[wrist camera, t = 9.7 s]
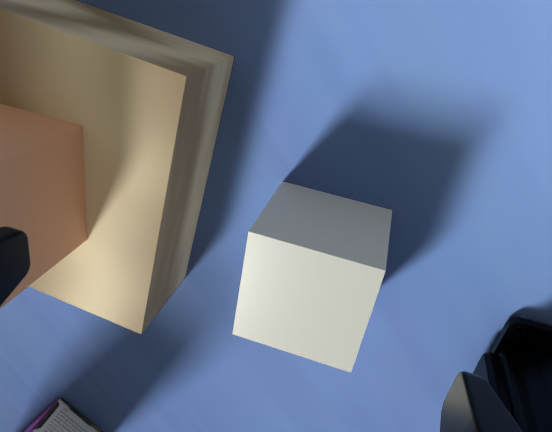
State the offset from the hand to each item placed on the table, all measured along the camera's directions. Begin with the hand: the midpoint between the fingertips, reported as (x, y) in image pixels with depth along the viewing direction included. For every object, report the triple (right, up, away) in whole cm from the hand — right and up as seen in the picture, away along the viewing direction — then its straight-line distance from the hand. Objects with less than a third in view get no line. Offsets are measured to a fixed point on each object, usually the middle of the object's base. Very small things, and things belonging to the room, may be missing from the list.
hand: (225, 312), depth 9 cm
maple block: (-8, +6, +14) cm, 17 cm away
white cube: (+3, +1, +13) cm, 13 cm away
